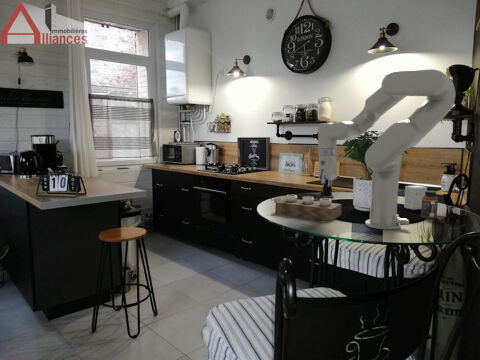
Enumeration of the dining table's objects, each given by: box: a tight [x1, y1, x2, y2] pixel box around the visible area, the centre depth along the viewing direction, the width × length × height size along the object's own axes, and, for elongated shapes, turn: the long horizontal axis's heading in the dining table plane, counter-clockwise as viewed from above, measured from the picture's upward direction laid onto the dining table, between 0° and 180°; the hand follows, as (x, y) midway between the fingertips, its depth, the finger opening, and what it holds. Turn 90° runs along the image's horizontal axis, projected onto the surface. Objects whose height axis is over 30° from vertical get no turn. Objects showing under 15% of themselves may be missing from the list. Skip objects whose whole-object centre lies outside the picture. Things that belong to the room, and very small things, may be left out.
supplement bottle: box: [420, 190, 439, 220], centre depth 147 cm, size 6×6×11 cm
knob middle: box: [302, 195, 315, 204], centre depth 154 cm, size 5×5×7 cm
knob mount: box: [274, 198, 342, 222], centre depth 155 cm, size 26×12×5 cm, turn 55°
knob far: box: [285, 194, 298, 202], centre depth 159 cm, size 5×5×7 cm
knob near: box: [319, 197, 332, 206], centre depth 150 cm, size 5×5×7 cm
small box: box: [403, 185, 428, 210], centre depth 167 cm, size 8×6×10 cm
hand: (327, 195), depth 149 cm, fingers closed
